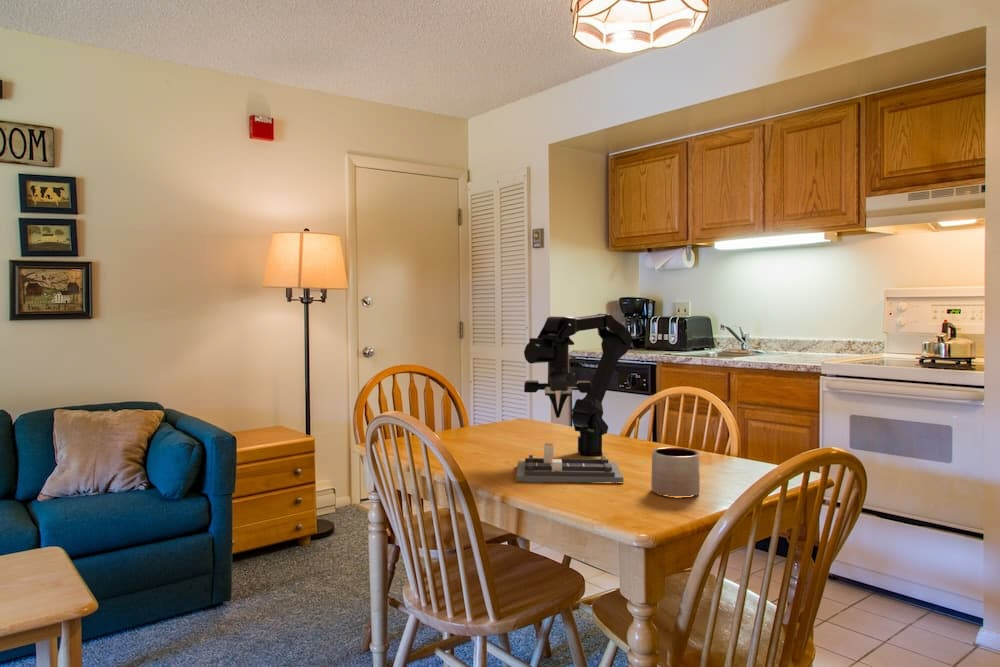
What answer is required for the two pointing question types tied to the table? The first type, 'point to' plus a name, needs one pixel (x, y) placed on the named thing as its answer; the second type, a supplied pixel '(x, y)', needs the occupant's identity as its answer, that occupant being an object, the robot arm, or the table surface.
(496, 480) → the table surface
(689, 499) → the table surface
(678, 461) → the planter
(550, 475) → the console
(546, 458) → the fader
